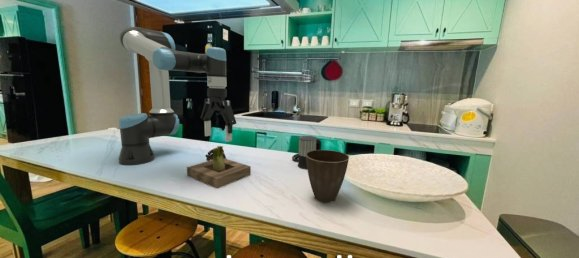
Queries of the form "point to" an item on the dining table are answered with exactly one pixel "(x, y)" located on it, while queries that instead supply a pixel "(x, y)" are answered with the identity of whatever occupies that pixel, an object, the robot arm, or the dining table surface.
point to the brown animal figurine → (210, 157)
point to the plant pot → (326, 173)
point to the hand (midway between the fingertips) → (217, 138)
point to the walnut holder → (218, 173)
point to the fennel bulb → (218, 159)
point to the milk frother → (306, 149)
